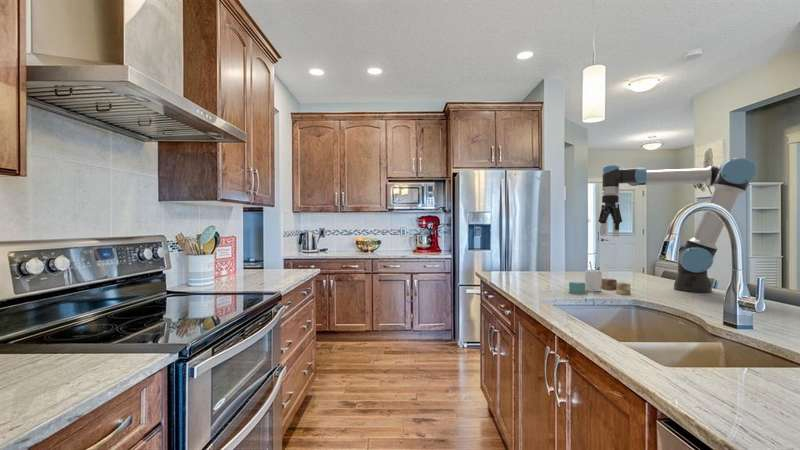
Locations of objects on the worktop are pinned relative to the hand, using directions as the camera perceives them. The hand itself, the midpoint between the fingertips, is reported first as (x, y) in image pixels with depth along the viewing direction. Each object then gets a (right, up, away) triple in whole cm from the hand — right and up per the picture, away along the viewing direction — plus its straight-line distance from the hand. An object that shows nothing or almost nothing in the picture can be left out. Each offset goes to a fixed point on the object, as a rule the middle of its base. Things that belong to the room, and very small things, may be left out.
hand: (609, 236), depth 197 cm
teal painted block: (-23, -27, -12) cm, 38 cm away
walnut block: (-2, -27, -2) cm, 27 cm away
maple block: (-2, -27, -15) cm, 31 cm away
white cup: (-12, -27, -7) cm, 31 cm away
